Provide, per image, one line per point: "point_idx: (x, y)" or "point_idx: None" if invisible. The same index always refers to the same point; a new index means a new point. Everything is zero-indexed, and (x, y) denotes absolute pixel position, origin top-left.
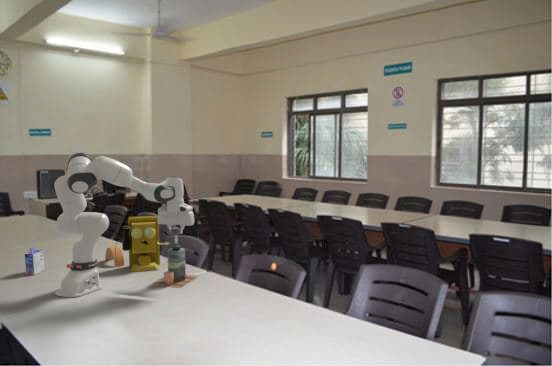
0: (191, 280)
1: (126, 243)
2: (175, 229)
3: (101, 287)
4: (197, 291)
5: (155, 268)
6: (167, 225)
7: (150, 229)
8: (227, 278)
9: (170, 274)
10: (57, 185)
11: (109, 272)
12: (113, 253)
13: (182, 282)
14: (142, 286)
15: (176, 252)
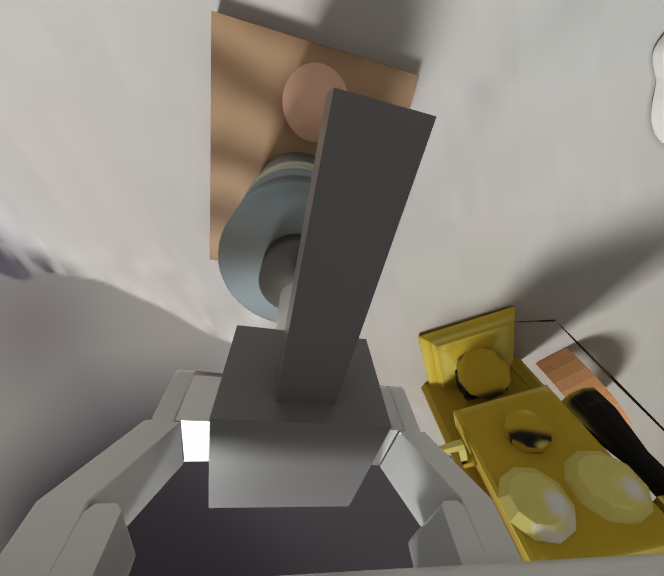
0: (215, 182)
1: (612, 418)
2: (269, 417)
3: (659, 48)
4: (107, 11)
5: (428, 338)
6: (499, 527)
7: (546, 521)
8: (85, 267)
9: (294, 71)
10: None
11: (588, 293)
12: (606, 393)
13: (248, 141)
14: (450, 106)
15: (268, 190)
